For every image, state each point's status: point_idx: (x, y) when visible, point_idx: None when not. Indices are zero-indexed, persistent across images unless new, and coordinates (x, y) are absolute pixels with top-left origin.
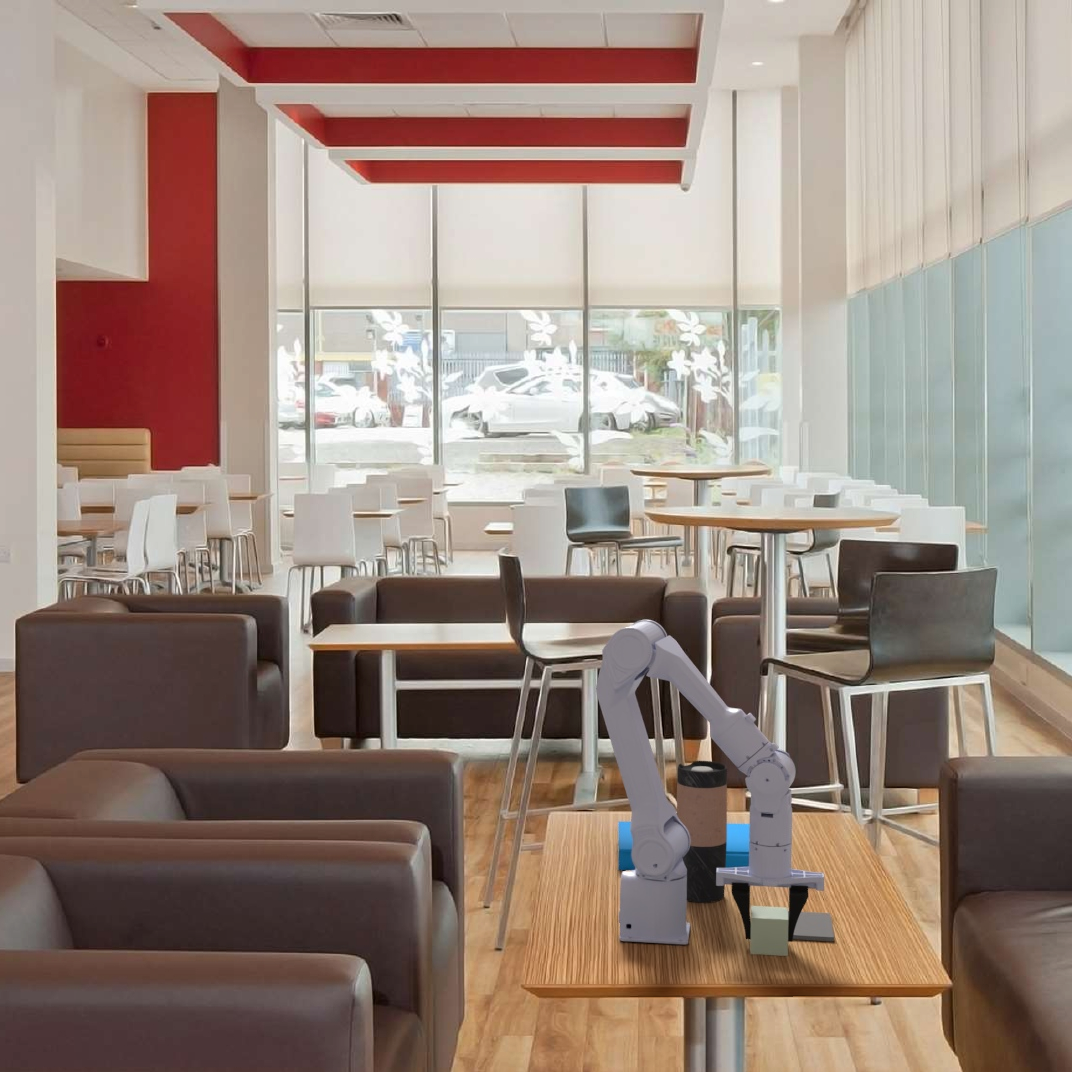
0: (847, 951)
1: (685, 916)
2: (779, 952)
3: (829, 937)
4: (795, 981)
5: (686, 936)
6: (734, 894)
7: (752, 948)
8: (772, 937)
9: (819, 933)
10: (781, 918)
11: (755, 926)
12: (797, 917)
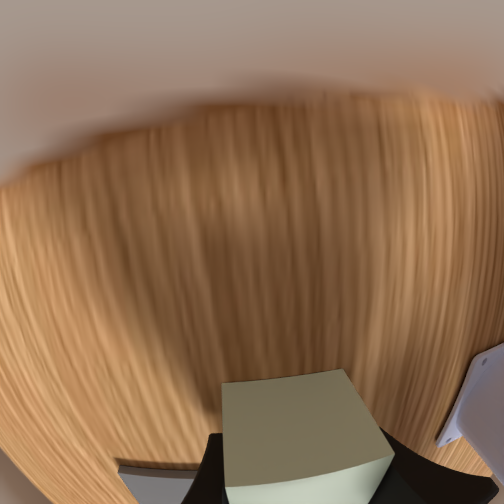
0: (72, 421)
1: (486, 421)
2: (250, 387)
3: (127, 473)
4: (177, 144)
5: (468, 387)
6: (497, 486)
7: (342, 380)
8: (284, 420)
9: (156, 486)
10: (259, 490)
11: (363, 435)
12: (186, 501)
